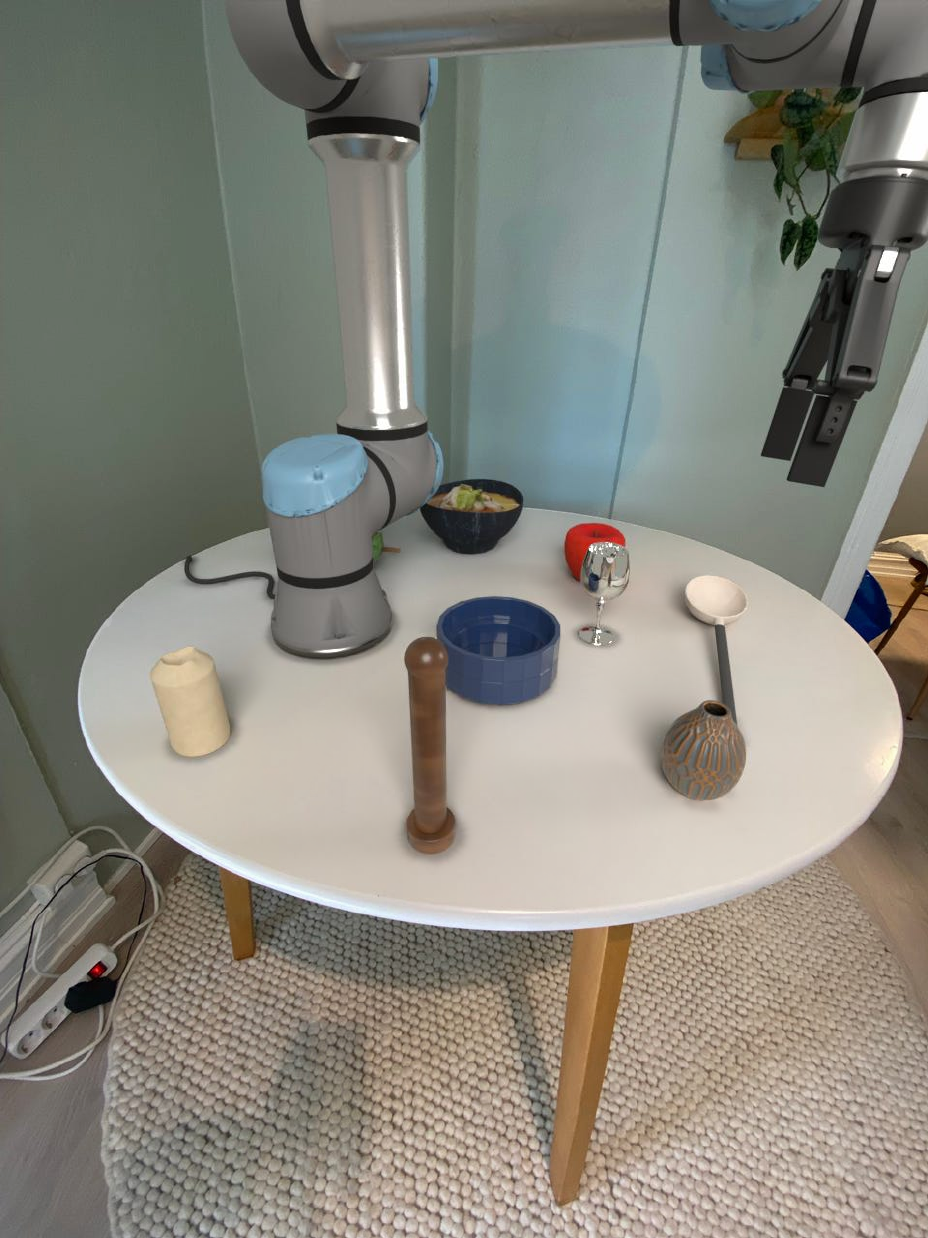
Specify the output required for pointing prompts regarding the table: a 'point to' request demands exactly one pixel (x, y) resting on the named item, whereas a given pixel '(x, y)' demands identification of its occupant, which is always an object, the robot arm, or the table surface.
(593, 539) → the apple
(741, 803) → the table surface
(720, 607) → the ladle
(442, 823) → the brown wooden post
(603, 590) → the wineglass
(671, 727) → the vase
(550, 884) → the table surface
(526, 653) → the blue bowl
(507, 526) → the bowl
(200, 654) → the candle
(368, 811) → the table surface
